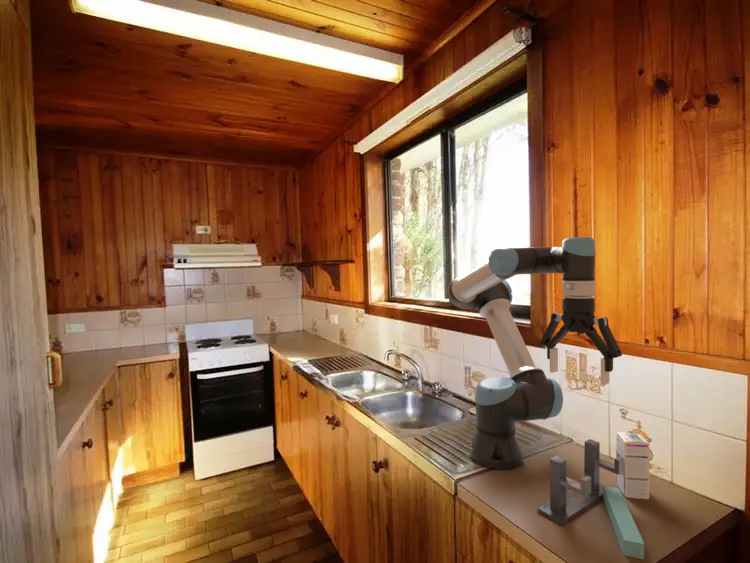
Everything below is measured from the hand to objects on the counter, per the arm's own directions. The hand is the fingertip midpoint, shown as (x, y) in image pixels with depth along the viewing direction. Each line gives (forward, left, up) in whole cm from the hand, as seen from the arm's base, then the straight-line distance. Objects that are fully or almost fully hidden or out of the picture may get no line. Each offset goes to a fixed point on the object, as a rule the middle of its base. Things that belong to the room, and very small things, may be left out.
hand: (577, 377), depth 103 cm
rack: (+6, -8, -29) cm, 30 cm away
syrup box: (+10, +7, -29) cm, 31 cm away
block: (+14, -8, -29) cm, 33 cm away
